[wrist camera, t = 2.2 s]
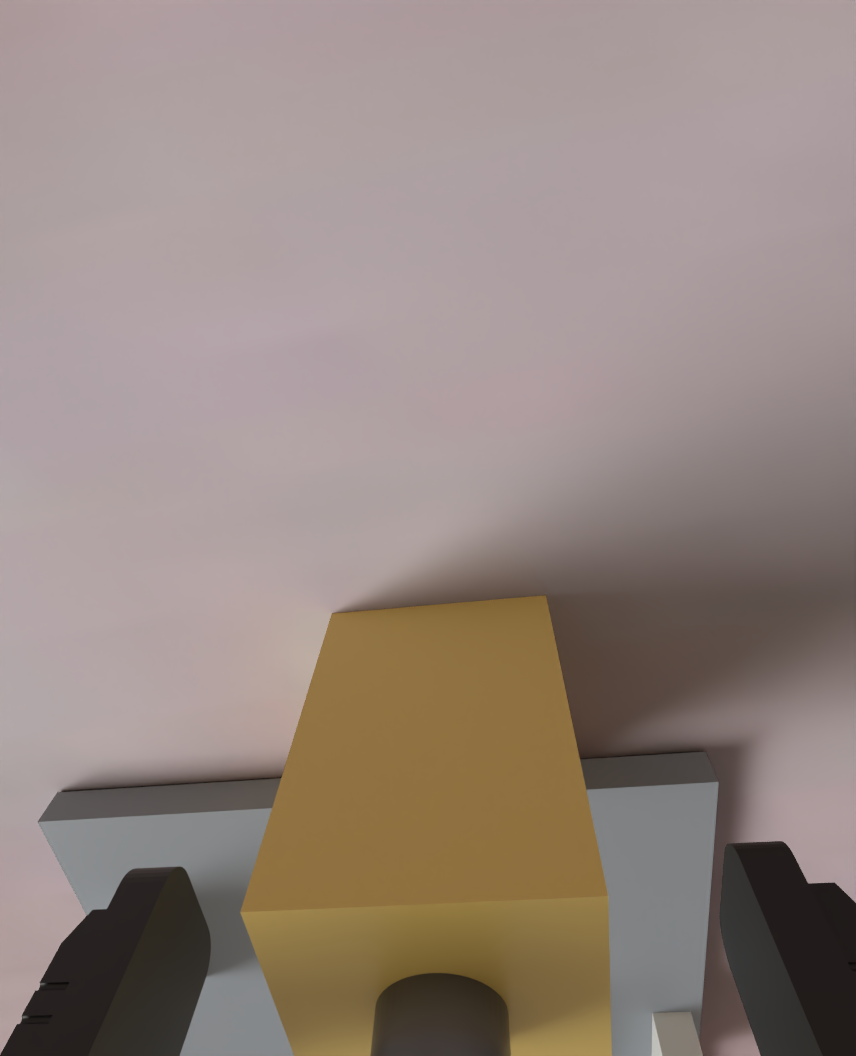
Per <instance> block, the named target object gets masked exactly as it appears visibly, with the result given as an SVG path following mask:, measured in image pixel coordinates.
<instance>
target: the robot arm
mask: <svg viewBox="0 0 856 1056" xmlns="http://www.w3.org/2000/svg"><path fill="white" fill-rule="evenodd" d="M720 925H721V933H722V938H723V943H724V948H725V952H726V956H727V959H728V962H729V965H730V968H731V971H732V974H733V977H734V980H735V983H736V986H737V988H738V991H739V994H740V997H741V1000H742V1003H743V1006H744V1009H745V1011H746V1014H747V1017H748V1020H749V1023H750V1026H751V1029H752V1032H753V1034H754V1037H755V1040H756V1043H757V1046H758V1049H759V1052H760V1055H761V1056H856V903H855V902H854V901H853V900H852V899H851V898H850V897H849V896H848V895H847V894H846V893H845V892H844V891H843V890H842V889H841V888H840V887H839V886H838V885H836V884H835V883H814V884H808V883H807V881H806V879H805V877H804V875H803V873H802V871H801V869H800V867H799V865H798V863H797V861H796V859H795V857H794V855H793V853H792V851H791V850H790V848H789V847H788V846H787V845H786V844H785V843H784V842H782V841H775V842H753V843H731V844H727V845H726V847H725V853H724V866H723V879H722V891H721V904H720ZM210 954H211V939H210V932H209V928H208V925H207V923H206V920H205V918H204V915H203V912H202V910H201V907H200V905H199V902H198V899H197V897H196V894H195V892H194V889H193V886H192V884H191V881H190V879H189V876H188V874H187V872H186V870H185V869H184V868H183V867H180V866H177V867H155V868H135V869H132V870H130V871H129V872H128V873H127V874H126V875H125V876H124V877H123V879H122V881H121V882H120V884H119V886H118V888H117V890H116V892H115V894H114V896H113V898H112V900H111V902H110V904H109V906H108V908H107V909H96V910H92V911H91V912H90V913H89V914H88V915H87V916H86V917H85V919H84V920H83V921H82V922H81V923H80V924H79V925H78V926H77V927H76V928H75V929H74V930H73V932H72V933H71V934H70V935H69V936H68V937H67V938H66V939H65V940H64V941H63V942H62V943H61V945H60V947H59V949H58V951H57V952H56V954H55V956H54V958H53V960H52V962H51V963H50V965H49V967H48V969H47V971H46V972H45V974H44V976H43V978H42V980H41V982H40V988H39V990H38V991H35V993H34V994H33V996H32V998H31V1000H30V1002H29V1003H28V1005H27V1007H26V1009H25V1011H24V1013H23V1014H22V1021H21V1023H20V1024H17V1025H16V1027H15V1029H14V1031H13V1033H12V1034H11V1036H10V1038H9V1040H8V1042H7V1044H6V1045H5V1047H4V1049H3V1051H2V1053H1V1055H0V1056H180V1053H181V1050H182V1047H183V1044H184V1041H185V1038H186V1035H187V1032H188V1029H189V1026H190V1023H191V1021H192V1018H193V1015H194V1012H195V1009H196V1006H197V1003H198V1000H199V997H200V994H201V991H202V988H203V985H204V982H205V979H206V976H207V972H208V968H209V962H210Z"/></svg>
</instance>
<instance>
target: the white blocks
mask: <svg viewBox="0 0 856 1056" xmlns="http://www.w3.org/2000/svg"><path fill="white" fill-rule="evenodd" d="M652 1056H703V1053H702V1050H701V1046H700V1043H699V1039H698V1036H697V1032H696V1028H695V1025H694V1021H693V1018H692V1014H691V1012H666V1013H653V1015H652Z"/></svg>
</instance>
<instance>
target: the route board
mask: <svg viewBox="0 0 856 1056" xmlns="http://www.w3.org/2000/svg"><path fill="white" fill-rule="evenodd" d="M580 762H581V767H582V772H583V776H584V781H585V786H586V791H587V796H588V800H589V805H590V810H591V815H592V820H593V825H594V829H595V834H596V839H597V844H598V849H599V854H600V858H601V863H602V868H603V873H604V878H605V882H606V887H607V892H608V902H609V949H610V995H611V1041H612V1056H652V1015H653V1013H666V1012H691V1014H692V1018H693V1021H694V1025H695V1028H696V1032H697V1036H698V1039H700V1026H701V1012H702V999H703V986H704V972H705V959H706V946H707V932H708V919H709V905H710V892H711V879H712V865H713V852H714V838H715V825H716V812H717V798H718V785H719V781H718V779H717V777H716V775H715V772H714V770H713V768H712V765H711V763H710V761H709V758H708V756H707V754H706V752H691V753H675V754H659V755H643V756H627V757H611V758H595V759H580ZM280 781H281V778H278V779H262V780H246V781H230V782H214V783H198V784H183V785H167V786H151V787H135V788H119V789H103V790H87V791H71V792H57V794H56V795H55V797H54V798H53V800H52V801H51V803H50V804H49V806H48V807H47V809H46V810H45V812H44V813H43V815H42V816H41V818H40V819H39V821H38V824H39V826H40V827H41V829H42V831H43V833H44V835H45V837H46V839H47V841H48V843H49V845H50V846H51V848H52V850H53V852H54V854H55V856H56V858H57V860H58V862H59V864H60V865H61V867H62V869H63V871H64V873H65V875H66V877H67V879H68V881H69V883H70V885H71V886H72V888H73V890H74V892H75V894H76V896H77V898H78V900H79V902H80V904H81V905H82V907H83V909H84V911H85V913H86V915H88V914H89V913H90V912H91V911H92V910H96V909H107V908H108V906H109V904H110V902H111V900H112V898H113V896H114V894H115V892H116V890H117V888H118V886H119V884H120V882H121V881H122V879H123V877H124V876H125V875H126V874H127V873H128V872H129V871H130V870H132V869H135V868H155V867H177V866H180V867H183V868H184V869H185V870H186V872H187V874H188V876H189V879H190V881H191V884H192V886H193V889H194V892H195V894H196V897H197V899H198V902H199V905H200V907H201V910H202V912H203V915H204V918H205V920H206V923H207V925H208V928H209V932H210V939H211V954H210V962H209V968H208V972H207V976H206V979H205V982H204V985H203V988H202V991H201V994H200V997H199V1000H198V1003H197V1006H196V1009H195V1012H194V1015H193V1018H192V1021H191V1023H190V1026H189V1029H188V1032H187V1035H186V1038H185V1041H184V1044H183V1047H182V1050H181V1053H180V1056H294V1054H293V1051H292V1049H291V1046H290V1043H289V1041H288V1038H287V1035H286V1033H285V1030H284V1028H283V1025H282V1022H281V1020H280V1017H279V1014H278V1012H277V1009H276V1006H275V1004H274V1001H273V998H272V996H271V993H270V990H269V988H268V985H267V982H266V980H265V977H264V974H263V972H262V969H261V966H260V964H259V961H258V958H257V956H256V953H255V950H254V948H253V945H252V942H251V940H250V937H249V934H248V932H247V929H246V926H245V924H244V921H243V918H242V916H241V913H240V911H241V908H242V905H243V902H244V898H245V895H246V892H247V889H248V885H249V882H250V879H251V876H252V872H253V869H254V866H255V863H256V859H257V856H258V853H259V849H260V846H261V843H262V840H263V836H264V833H265V830H266V827H267V823H268V820H269V817H270V814H271V810H272V807H273V804H274V801H275V797H276V794H277V791H278V788H279V784H280Z"/></svg>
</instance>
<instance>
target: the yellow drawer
mask: <svg viewBox="0 0 856 1056" xmlns="http://www.w3.org/2000/svg"><path fill="white" fill-rule="evenodd" d="M240 913H241V916H242V918H243V921H244V924H245V926H246V929H247V932H248V934H249V937H250V940H251V942H252V945H253V948H254V950H255V953H256V956H257V958H258V961H259V964H260V966H261V969H262V972H263V974H264V977H265V980H266V982H267V985H268V988H269V990H270V993H271V996H272V998H273V1001H274V1004H275V1006H276V1009H277V1012H278V1014H279V1017H280V1020H281V1022H282V1025H283V1028H284V1030H285V1033H286V1035H287V1038H288V1041H289V1043H290V1046H291V1049H292V1051H293V1054H294V1056H612V1041H611V995H610V949H609V902H608V892H607V887H606V882H605V878H604V873H603V868H602V863H601V858H600V854H599V849H598V844H597V839H596V834H595V829H594V825H593V820H592V815H591V810H590V805H589V800H588V796H587V791H586V786H585V781H584V776H583V772H582V767H581V762H580V757H579V752H578V747H577V743H576V738H575V733H574V728H573V723H572V719H571V714H570V709H569V704H568V699H567V694H566V690H565V685H564V680H563V675H562V670H561V665H560V661H559V656H558V651H557V646H556V641H555V637H554V632H553V627H552V622H551V617H550V612H549V608H548V603H547V598H546V595H542V596H530V597H519V598H507V599H495V600H484V601H472V602H460V603H449V604H437V605H425V606H414V607H402V608H390V609H379V610H367V611H355V612H344V613H332V615H331V618H330V621H329V625H328V628H327V631H326V634H325V638H324V641H323V644H322V647H321V651H320V654H319V657H318V660H317V664H316V667H315V670H314V673H313V677H312V680H311V683H310V686H309V690H308V693H307V696H306V700H305V703H304V706H303V709H302V713H301V716H300V719H299V722H298V726H297V729H296V732H295V735H294V739H293V742H292V745H291V748H290V752H289V755H288V758H287V761H286V765H285V768H284V771H283V774H282V778H281V781H280V784H279V788H278V791H277V794H276V797H275V801H274V804H273V807H272V810H271V814H270V817H269V820H268V823H267V827H266V830H265V833H264V836H263V840H262V843H261V846H260V849H259V853H258V856H257V859H256V863H255V866H254V869H253V872H252V876H251V879H250V882H249V885H248V889H247V892H246V895H245V898H244V902H243V905H242V908H241V911H240Z"/></svg>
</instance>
